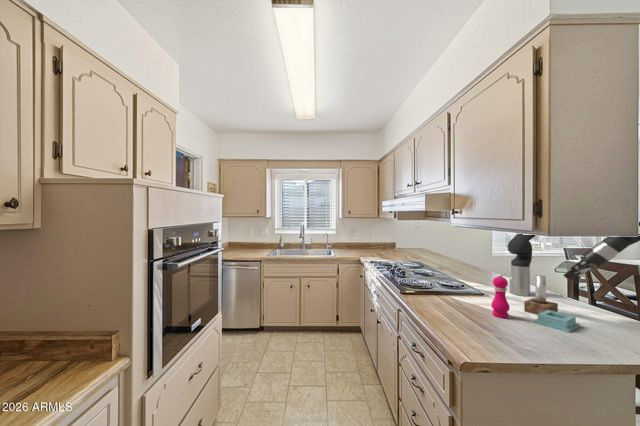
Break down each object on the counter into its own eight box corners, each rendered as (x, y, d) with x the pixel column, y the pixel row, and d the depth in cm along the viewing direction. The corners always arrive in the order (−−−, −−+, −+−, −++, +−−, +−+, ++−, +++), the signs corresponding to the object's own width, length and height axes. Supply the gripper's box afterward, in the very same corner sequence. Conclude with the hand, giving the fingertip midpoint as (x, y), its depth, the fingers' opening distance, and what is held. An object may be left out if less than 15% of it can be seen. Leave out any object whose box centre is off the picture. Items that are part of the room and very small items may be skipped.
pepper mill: (489, 316, 130) (489, 273, 130) (493, 312, 135) (493, 271, 136) (508, 320, 125) (507, 276, 125) (510, 315, 131) (510, 273, 131)
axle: (534, 312, 136) (534, 275, 136) (537, 310, 138) (537, 274, 138) (544, 314, 132) (543, 277, 132) (547, 312, 134) (547, 276, 134)
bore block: (524, 311, 137) (524, 301, 137) (533, 307, 142) (533, 298, 142) (549, 317, 128) (549, 306, 128) (557, 313, 133) (557, 303, 133)
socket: (534, 322, 122) (534, 313, 122) (545, 317, 128) (545, 308, 128) (568, 332, 112) (568, 322, 112) (579, 326, 118) (579, 317, 118)
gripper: (594, 250, 128) (563, 273, 135) (588, 245, 120) (556, 270, 126) (611, 262, 123) (578, 285, 130) (607, 258, 115) (572, 283, 121)
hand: (567, 278), depth 128 cm, fingers open, 8 cm apart
